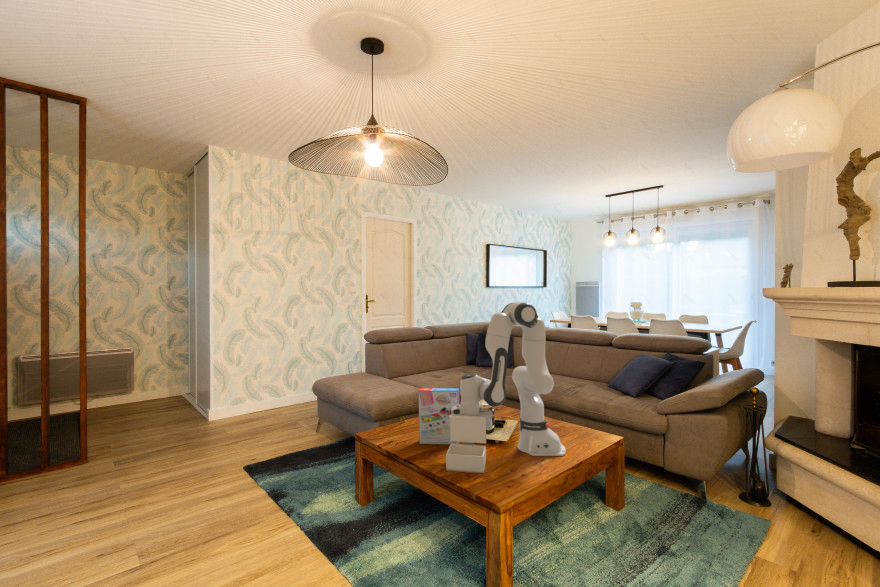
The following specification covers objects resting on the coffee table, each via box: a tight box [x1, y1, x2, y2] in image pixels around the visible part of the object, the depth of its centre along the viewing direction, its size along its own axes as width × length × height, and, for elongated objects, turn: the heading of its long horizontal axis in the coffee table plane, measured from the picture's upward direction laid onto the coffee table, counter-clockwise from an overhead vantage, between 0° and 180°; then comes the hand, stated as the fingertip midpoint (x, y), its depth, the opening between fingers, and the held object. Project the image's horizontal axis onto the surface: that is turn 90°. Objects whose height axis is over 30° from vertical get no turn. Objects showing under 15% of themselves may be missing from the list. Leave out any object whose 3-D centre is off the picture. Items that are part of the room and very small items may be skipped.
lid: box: [449, 415, 487, 445], centre depth 187 cm, size 16×20×9 cm
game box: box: [417, 387, 461, 445], centre depth 206 cm, size 21×6×27 cm, turn 84°
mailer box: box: [445, 443, 487, 474], centre depth 178 cm, size 16×12×7 cm
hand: (471, 438), depth 190 cm, fingers closed
